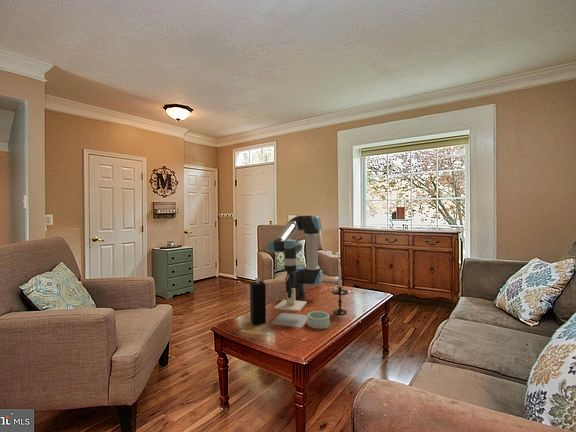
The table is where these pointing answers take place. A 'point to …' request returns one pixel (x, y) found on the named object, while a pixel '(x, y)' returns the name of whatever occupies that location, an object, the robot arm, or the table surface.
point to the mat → (290, 320)
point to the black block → (257, 302)
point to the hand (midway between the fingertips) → (291, 301)
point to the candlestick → (339, 292)
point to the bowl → (318, 319)
